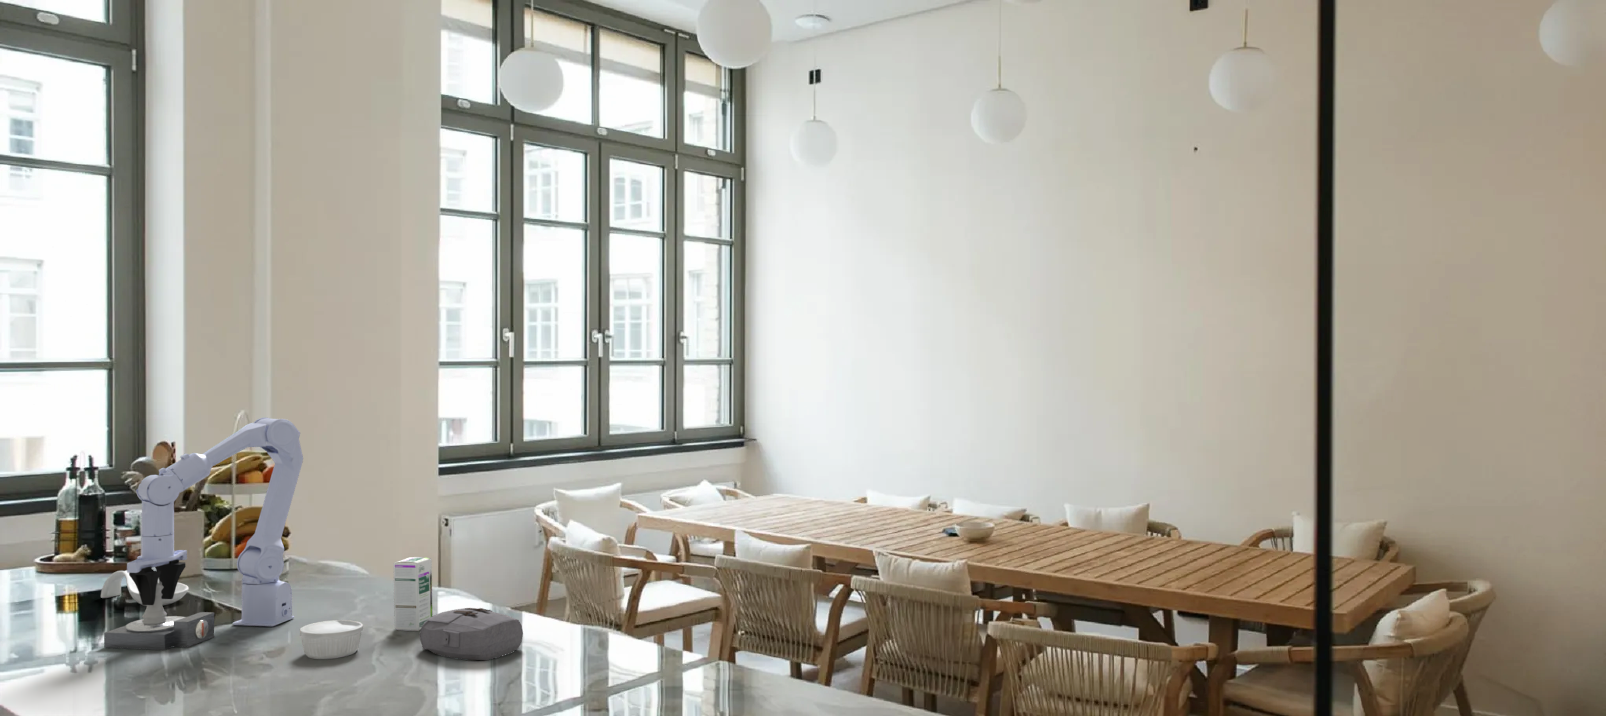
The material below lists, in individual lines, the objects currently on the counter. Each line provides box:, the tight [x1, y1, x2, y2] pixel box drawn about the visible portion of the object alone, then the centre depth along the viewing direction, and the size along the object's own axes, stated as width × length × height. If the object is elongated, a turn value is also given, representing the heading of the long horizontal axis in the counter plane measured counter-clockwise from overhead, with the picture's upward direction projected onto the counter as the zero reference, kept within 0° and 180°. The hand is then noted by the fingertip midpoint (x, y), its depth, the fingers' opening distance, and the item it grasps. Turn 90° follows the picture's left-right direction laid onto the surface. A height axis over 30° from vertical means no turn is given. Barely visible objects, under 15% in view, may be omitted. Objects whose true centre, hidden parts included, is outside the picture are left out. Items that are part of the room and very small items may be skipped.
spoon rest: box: [100, 569, 189, 607], centre depth 258 cm, size 24×12×7 cm, turn 67°
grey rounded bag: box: [418, 607, 524, 661], centre depth 215 cm, size 15×8×20 cm
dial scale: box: [103, 611, 215, 651], centre depth 222 cm, size 16×13×5 cm
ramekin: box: [299, 619, 364, 660], centre depth 213 cm, size 11×11×5 cm
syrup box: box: [393, 556, 433, 632], centre depth 233 cm, size 6×6×14 cm
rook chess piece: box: [142, 582, 168, 625], centre depth 222 cm, size 4×4×8 cm
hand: (157, 601), depth 222 cm, fingers open, 5 cm apart
